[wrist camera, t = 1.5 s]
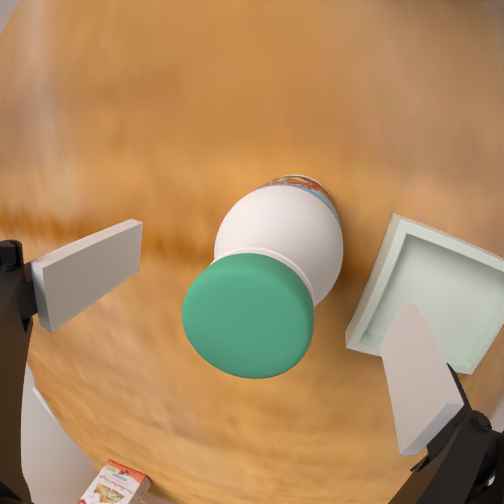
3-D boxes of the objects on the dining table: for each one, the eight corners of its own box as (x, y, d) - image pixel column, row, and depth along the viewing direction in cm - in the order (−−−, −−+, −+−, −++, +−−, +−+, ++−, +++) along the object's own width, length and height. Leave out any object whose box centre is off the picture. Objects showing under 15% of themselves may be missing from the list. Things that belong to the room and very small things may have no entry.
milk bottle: (351, 225, 27) (398, 364, 8) (285, 265, 30) (226, 426, 11) (305, 157, 26) (268, 159, 7) (241, 203, 29) (106, 290, 10)
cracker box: (145, 473, 58) (114, 526, 39) (153, 482, 60) (124, 533, 41) (108, 458, 62) (75, 504, 42) (116, 467, 63) (86, 512, 44)
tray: (392, 212, 25) (400, 218, 23) (514, 263, 23) (527, 273, 20) (345, 332, 30) (346, 348, 28) (463, 360, 28) (471, 374, 25)
